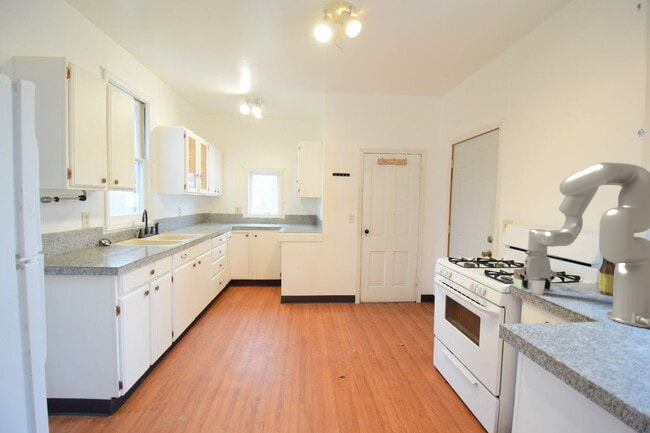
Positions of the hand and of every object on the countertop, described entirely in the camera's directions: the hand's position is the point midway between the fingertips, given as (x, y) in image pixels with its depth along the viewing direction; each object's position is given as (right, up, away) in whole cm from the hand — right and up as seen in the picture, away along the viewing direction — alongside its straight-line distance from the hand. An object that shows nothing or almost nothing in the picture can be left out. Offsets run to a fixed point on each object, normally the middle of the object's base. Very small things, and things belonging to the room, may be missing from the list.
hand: (535, 288), depth 138 cm
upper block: (+2, +2, +9) cm, 10 cm away
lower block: (+2, -2, +10) cm, 10 cm away
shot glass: (0, -2, 0) cm, 2 cm away
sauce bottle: (+34, -3, -1) cm, 35 cm away
